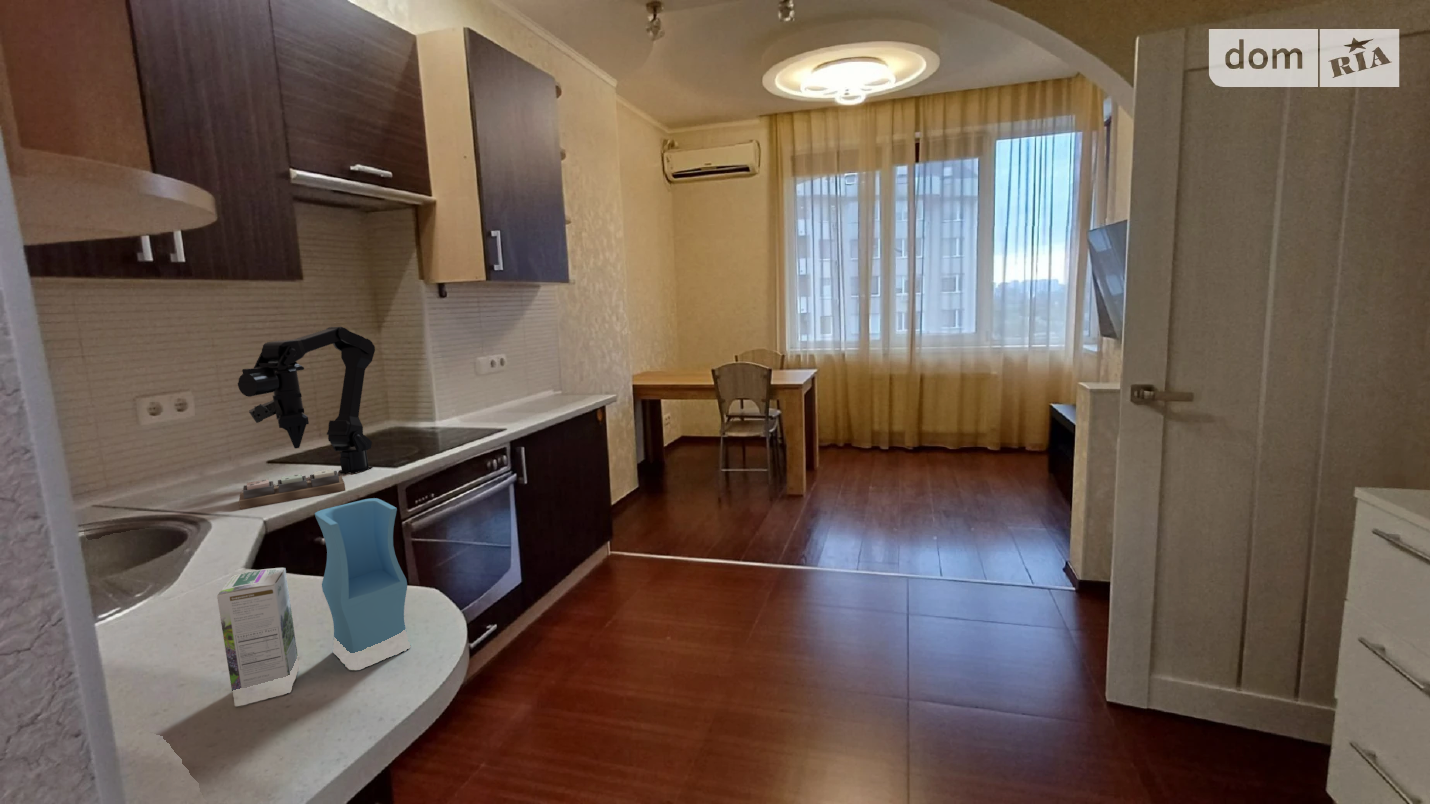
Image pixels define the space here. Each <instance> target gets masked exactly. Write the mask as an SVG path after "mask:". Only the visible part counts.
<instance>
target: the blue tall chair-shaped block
mask: <svg viewBox="0 0 1430 804" xmlns="http://www.w3.org/2000/svg"><path fill="white" fill-rule="evenodd" d="M397 511H398V509H397V507H395V506H394V505H392V504H390V503H389V502H386V501H385V500H382V499H380V498H377V497H376V498H375V497H373V498H365V499H361V500H357V501H353V502H352V501H351V502H349V503H345V504H340V505H335V506H331V507H327V508H323V509H321V510H318V511H316V512H314V516H315V519H316V521H317V524H318V525H319V526H318V527H320V530H321V532H322V535H323V539H324V541H325V546H326V547H325V548H326V552H327V553H326V564H325V570H324V575H323V577H322V582H321V589H322V593H323V595H324V598H325V600H326V603H327V605H328V607H329V610H330V613H331V618H332V621H333V622H332V623H333V638H334V637H335V638H336V639H337V641H339V642H340V644H342V645H343V647H345V648H346V650H347V651H349V652H350V653H355V652H358V651H362V650H364V649H366V648H367V647H371V646H373V645H375V644H378V643H381V642H382V641H385V640H387V639H389V638H391V637H393V636H395V635H397V634H399V633H401V632H402V631H403V630H405V629H406V630H407V628H406V622H405V605H406V604H405V603H406V597H407V590H408V582H407V581H408V580H407V578H406V576H405V574H404V572H403V570H402V568H401V566H400V564H399V562H398V558H397V556H396V552H395V547H394V528H395V527H394V526H395V521H396V516H397Z"/></svg>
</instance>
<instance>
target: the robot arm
mask: <svg viewBox="0 0 1430 804" xmlns="http://www.w3.org/2000/svg"><path fill="white" fill-rule="evenodd" d="M329 345H333V347H334V348H335V349H336V350H338V351H339V352H340V353H341V354H340V357H341V360H342V363H343V365H344V367H345V369H344V370H345V371H344V378H343V385H342V389H341V392H342V393H341V398H340V406H339V413H338V415H337V417H336V418H335V420H329V422H328V429H327V432H326V435H327V439H328V442H329V443H330V444H331V446H332V449H333V450H334V452H339V454H340V455H339V456H340V457H339V461H340V468H341V469H340V470H337V471H338V472H337V473H342V474H343V473H344V474H358V473H361V472H363V471H367V470H369V469H372V468H374V466H373V465H369V461H368V460H369V459H368V452H367V451H368V450H371V449H372V446H373V445H372V443H373V442H372V440H371V439H370V438H368V437H367V436H366V435H365V434H364V425H363V424H362V422H361V420H360V418H359V416H360V415H359V414H360V409H361V403H362V402H361V401H362V394H363V386H364V379H365V372H366V369H367V368H368V366H369V365H370V364H371V363H372V361H373V358H374V355H375V351H376V346H375V345H374V343H373V342H372V340H371V339H369V338H365V337H364V336H363V335H360V334H357V333H355V332H353V331H350V330H349V329H347V328H346V327H343V326H330V327H327V328H326V329H322V330H320V331H316V332H313V333H309V334H307V335H303V336H301V337H297V338H294V339H285V340H284V339H283V340H274V341H267V342H265V343H264V344H262V348H261V352H260V354H259V355H258V358H257V360H256V362H255V365H253V368H242V370H241V372H242V373H241V375H240V376H239V378H238V382H237V386H238V389H239V391H240V393H241V394H242V395H244V396H245V397H249V398H250V397H256V396H261V395H267V394H271V393H273V395H272V400H270V401H267V402H265V403H263V404H261V403H260V404H259V405H255V406H254V408H251V409H250V410H249V411H248V413H249V414H250V416H251V417H252V419H253V420H254V421H255V424H259V423H261V422H263V421H264V420H266V419H268V418H270V417H273V416H274V415H275V416H276V420H277V422H278V423H277V424H278V427H279V429H283V430H285V431H286V432H287V434H288V436H289V439H290V441H291V443H292V446H293V448H294V449H300V447H301V444H302V440H303V437H304V434H305V430H306V427H307V425H310V421H309V417H308V415H307V414H305V409H304V404H303V401H302V400H303V398H302V397H303V396H302V392H301V388H300V387H301V386H300V383H299V376H298V371H303V370H305V367H304V366H302V365H301V364H299V363H298V362H297V361H299V360H301V359H302V358H304V357H305V355H306V354H307V353H310V352H312V351H316V350H318V349H321V348H323V347H327V346H329Z"/></svg>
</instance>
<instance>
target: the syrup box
mask: <svg viewBox="0 0 1430 804" xmlns="http://www.w3.org/2000/svg"><path fill="white" fill-rule="evenodd" d="M288 585H289V584H288V577H287V570H286V567H275V568H264V569H256V570H250V571H246V572H242V573H238V574H235V575H232V576H231V577H230V578H229V579H228V581H227V582H226V583H225V585H224V586H223V588H222V589H221V590H220V591H219V593H218V594H217V596H216V599H217V604H218V610H219V616H220V624H221V629H222V630H221V631H222V637H223V643H224V649H225V655H226V662H227V667H228V675H229V682H230V687H231V692H232V691H233V690H236V689H240V688H247V687H250V686H253V685H258V684H261V683H265V682H268V681H273V680H274V679H278V678H283V677H286V676H288V675H290V671H291V670H292V668H293V666H294V663H295V661H296V659H297V656H298V657H299V655H298V648H297V642H296V635H295V634H296V633H295V627H294V618H293V611H292V605H291V597H290V590H289V586H288Z"/></svg>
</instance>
